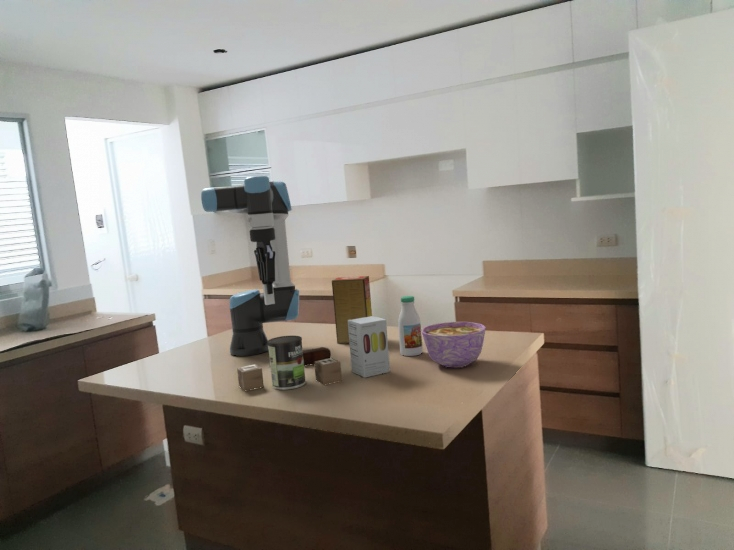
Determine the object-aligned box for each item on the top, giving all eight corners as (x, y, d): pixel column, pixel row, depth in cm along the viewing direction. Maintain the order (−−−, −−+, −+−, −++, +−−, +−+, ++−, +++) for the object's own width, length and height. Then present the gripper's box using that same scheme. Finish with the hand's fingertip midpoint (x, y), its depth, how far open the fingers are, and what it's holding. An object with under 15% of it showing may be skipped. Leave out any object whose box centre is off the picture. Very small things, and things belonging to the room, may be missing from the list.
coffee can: (312, 381, 170) (308, 336, 169) (291, 391, 162) (286, 344, 160) (287, 378, 176) (282, 334, 174) (264, 388, 167) (260, 342, 166)
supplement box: (363, 378, 169) (359, 324, 167) (350, 371, 177) (346, 319, 175) (391, 371, 173) (386, 318, 171) (377, 365, 181) (372, 315, 179)
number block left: (239, 387, 171) (236, 367, 170) (258, 382, 174) (255, 363, 173) (244, 391, 166) (242, 371, 165) (263, 387, 168) (261, 367, 168)
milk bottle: (397, 356, 190) (392, 298, 188) (404, 350, 198) (400, 295, 195) (419, 357, 188) (414, 298, 185) (425, 351, 195) (421, 294, 192)
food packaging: (374, 337, 222) (369, 275, 219) (369, 343, 213) (364, 278, 210) (342, 338, 225) (337, 277, 223) (336, 343, 216) (330, 280, 214)
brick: (303, 367, 188) (301, 353, 187) (298, 364, 191) (297, 351, 191) (331, 361, 193) (330, 347, 192) (326, 358, 196) (325, 345, 196)
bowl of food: (438, 354, 189) (436, 320, 188) (496, 357, 179) (494, 322, 178) (413, 371, 172) (410, 334, 171) (475, 376, 162) (473, 337, 160)
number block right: (316, 380, 171) (314, 360, 170) (333, 376, 174) (332, 357, 173) (323, 385, 165) (321, 364, 165) (342, 381, 168) (340, 360, 167)
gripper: (243, 228, 173) (251, 303, 176) (256, 229, 161) (265, 309, 165) (266, 226, 176) (274, 299, 180) (281, 227, 165) (289, 304, 168)
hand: (269, 303), depth 172 cm, fingers closed
